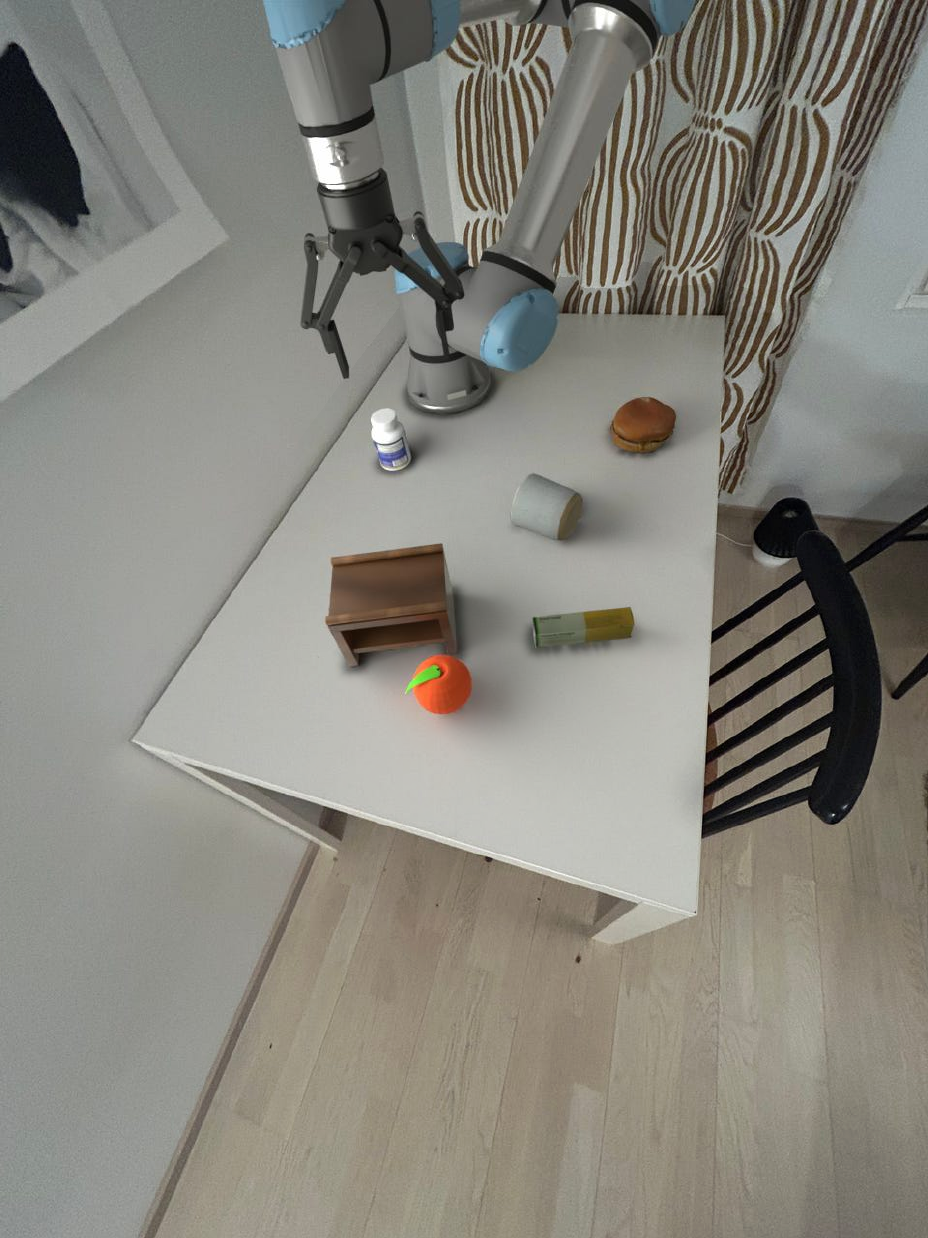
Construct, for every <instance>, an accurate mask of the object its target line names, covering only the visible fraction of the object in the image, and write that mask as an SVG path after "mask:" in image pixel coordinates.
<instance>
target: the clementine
mask: <svg viewBox="0 0 928 1238" xmlns="http://www.w3.org/2000/svg"><path fill="white" fill-rule="evenodd" d="M411 689H412V692H413V696H414V698H415V699H416V701H417V702H418V704H419V705H420V706H421V707H422V708H423V709H425V711H428V712H430V713H432V714H435V715H449V714H453V713H455V712H457V711H459V710H460V709H462V707H464V705H465V704H466V703H467V702H468V700H469V698H470V697H471V694H472V689H473V679H472V676H471V673H470V671H469V669H468V667H467V666H466V664H465V663H464V662H463V661H461V660H460V659H459V658H457V657H455V656H452V655H448V654H435V655H433V656H430V657H428V658H425V660H423V661H422V662H421V663H420V664H419V665H418V667H417V668H416V669H415V672H414V675H413V678H412V681H410V682H409V684H408V686H407V688H406V689H405V692H404V696H406V695H407V693H408V692H409V691H410V690H411Z"/></svg>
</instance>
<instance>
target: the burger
mask: <svg viewBox="0 0 928 1238" xmlns="http://www.w3.org/2000/svg"><path fill="white" fill-rule="evenodd" d="M676 421H677V413H676V411H675V409H674V408H672V406H670V405H668V404H665V403H664V402H662V401H660V400H658V399H657V398H655V397H651V396H646V397H645V396H641V397H636V398H633V399H631V400H629V401H626V402H625V403H624V404H622V405H621V406H620V407H619V408H618V409H617V411H616V412H615V415H614V417H613V419H612V420H611V423H610V432H611V436H612V440H613V444H614V445H615V446H617V447H618V448H620V449H622V450H624V451H626V452H630V453H637V454H648V453H652V452H654V451H656V450H657V449H659V448H660V447H662V446H663V445H664V444H665V443H666V442H667V441H668V440H669V439H670V437H671V436H672V435H673V434H674V429H675V428H676Z"/></svg>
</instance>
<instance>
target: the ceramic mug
mask: <svg viewBox="0 0 928 1238" xmlns="http://www.w3.org/2000/svg"><path fill="white" fill-rule="evenodd" d="M515 491H516V492H515V494H514V496H513V500H512V503H511V509H510V521H511V523H512V524H513V525H515V526H516V527H520V528H523V529H525V530H528V531H530V532H534V533H536V534H538V535H541V536H544V537H545V538H549V539H551V540H556V541H565V540H566V539H568V538H569V537H570V536H571V535H572V533H573V532H574V530H575V528H576V527H577V525H578V523H579V520H580V517H581V515H582V512H583V507H584V499H583V496H582V494H581V493H579V492H578V491H576V490H575V489H573V488H571V487H568V486H566V485H564V484H561V483H558V482H557V481H553V480H551V479H549V478H546V477H545V476H542V475H540V474H537V473H529V474H528V475H527V476H525V478H523V480H522V481H521V483H520V485H519V486H518V487H517V489H516V490H515Z"/></svg>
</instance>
